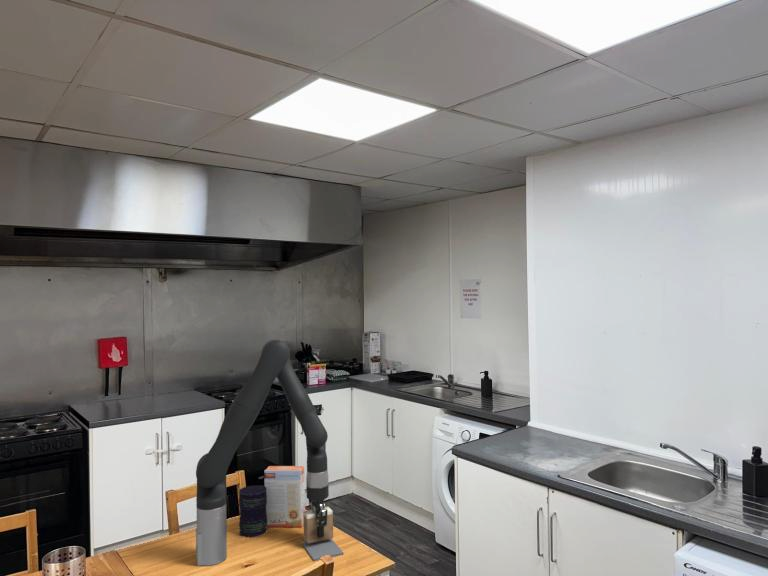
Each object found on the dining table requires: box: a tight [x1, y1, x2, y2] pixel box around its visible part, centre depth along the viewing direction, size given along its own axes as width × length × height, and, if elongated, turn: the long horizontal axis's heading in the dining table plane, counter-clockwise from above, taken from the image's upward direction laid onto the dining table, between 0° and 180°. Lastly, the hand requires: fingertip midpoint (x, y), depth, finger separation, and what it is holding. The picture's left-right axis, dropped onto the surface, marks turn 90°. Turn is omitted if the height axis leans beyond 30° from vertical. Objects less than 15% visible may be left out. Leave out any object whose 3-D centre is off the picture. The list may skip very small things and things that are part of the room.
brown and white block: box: [303, 506, 334, 543], centre depth 177 cm, size 9×4×9 cm, turn 115°
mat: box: [301, 538, 344, 562], centre depth 173 cm, size 10×14×1 cm
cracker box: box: [263, 465, 306, 528], centre depth 194 cm, size 14×6×21 cm, turn 84°
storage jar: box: [238, 484, 268, 539], centre depth 188 cm, size 10×10×15 cm
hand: (318, 533), depth 177 cm, fingers closed on brown and white block, 4 cm apart
